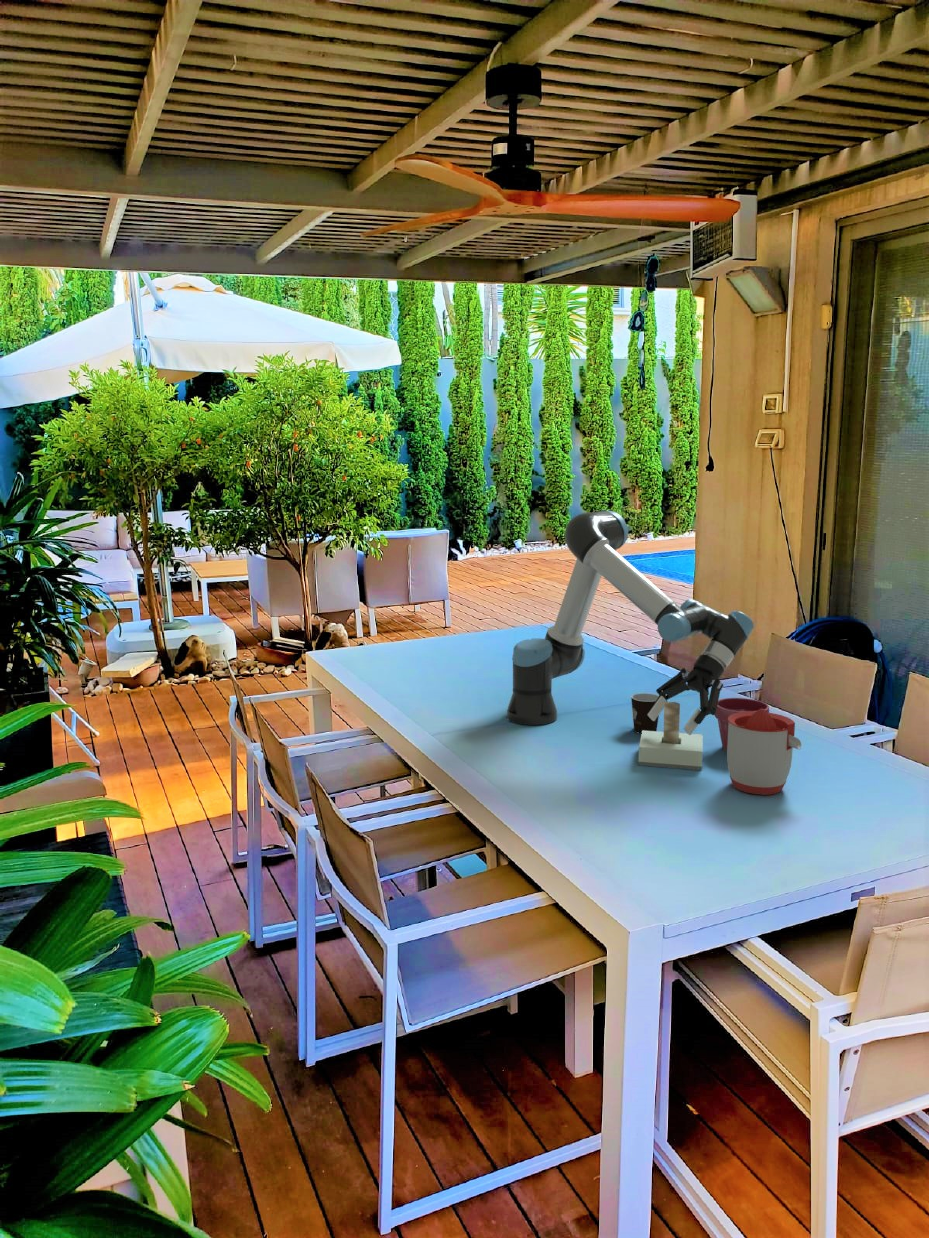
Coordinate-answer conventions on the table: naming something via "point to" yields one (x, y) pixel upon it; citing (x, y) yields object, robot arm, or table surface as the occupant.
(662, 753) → the socket block
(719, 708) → the plant pot
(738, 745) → the citrus juicer
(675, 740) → the dowel
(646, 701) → the coffee mug
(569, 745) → the table surface
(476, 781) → the table surface
